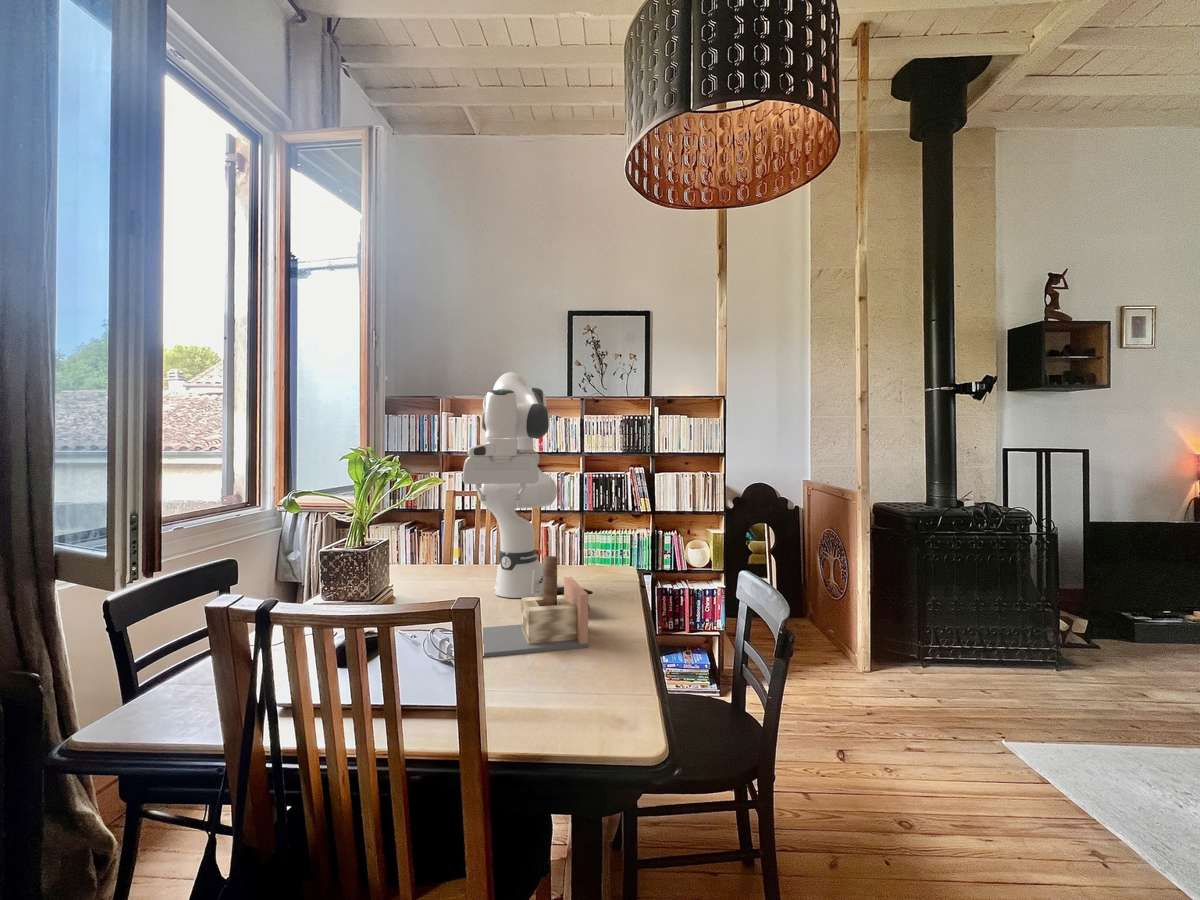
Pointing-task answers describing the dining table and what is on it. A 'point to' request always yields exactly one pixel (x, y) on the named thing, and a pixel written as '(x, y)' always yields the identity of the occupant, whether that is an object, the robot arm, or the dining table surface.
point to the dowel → (549, 580)
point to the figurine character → (561, 592)
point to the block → (548, 620)
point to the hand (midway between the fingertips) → (500, 500)
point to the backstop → (515, 642)
